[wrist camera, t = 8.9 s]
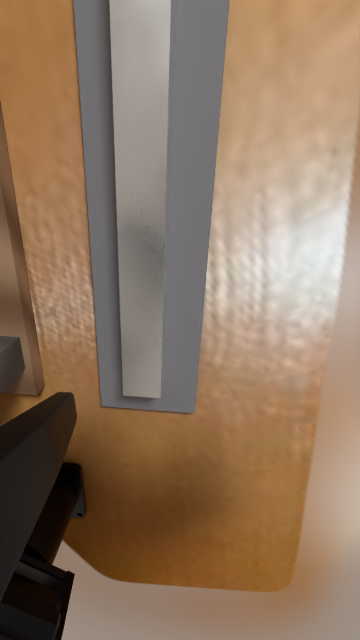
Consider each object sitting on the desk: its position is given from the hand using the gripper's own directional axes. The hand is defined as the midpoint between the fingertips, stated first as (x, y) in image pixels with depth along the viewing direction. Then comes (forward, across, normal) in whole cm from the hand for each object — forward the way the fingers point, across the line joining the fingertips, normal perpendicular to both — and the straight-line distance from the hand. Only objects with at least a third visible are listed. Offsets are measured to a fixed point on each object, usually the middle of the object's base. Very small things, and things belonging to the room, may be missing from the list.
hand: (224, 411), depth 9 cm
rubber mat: (+11, +4, -5) cm, 13 cm away
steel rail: (+11, +4, -5) cm, 12 cm away
